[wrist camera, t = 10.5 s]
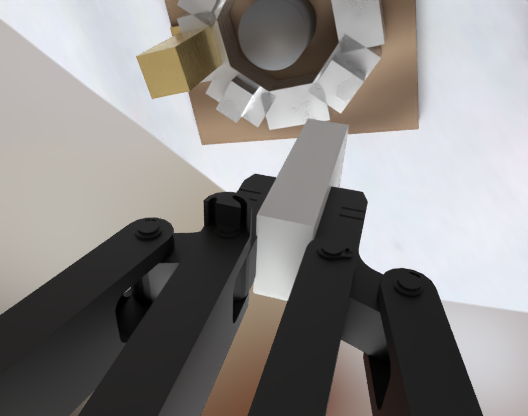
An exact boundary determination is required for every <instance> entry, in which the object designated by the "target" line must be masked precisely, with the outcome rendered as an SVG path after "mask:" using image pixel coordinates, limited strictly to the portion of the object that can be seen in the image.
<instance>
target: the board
mask: <svg viewBox="0 0 528 416" xmlns="http://www.w3.org/2000/svg"><path fill="white" fill-rule="evenodd" d="M178 1H179V0H165V3H166V7H167V11H168V15H169V18H170V22H171V26H172V27H170V29H171V32H172V36H175V35H176V34H180V33H181V30H180V27H179V24H178V21H177V18H179V17H181V16H183V15H186V14H188V12H187V11H185V10H184V9H182V8H181V7H179V6H178V5H177V4H178ZM381 1H382V8H383V15H384V22H385V29H386V40H385V44H383V45H379V46H380V47H382V48H383V51H382V56H381V59H380V60H379V62H378V63H377V64H376V66H375V67H374V69H373V70H372V71H371V73H370V74H369V76H368V77H367V78H366V80H365V81H364V82H363V84H362V85H361V87H360V88H359V89H358V91H357V92H356V93H355V95H354V96H353V98H352V99H351V100H350V102H349V103H348V104H347V106H346V107H345V109H344V110H343V111H342V113H339V112H338V111H336V110H335V109H334V111H333V114H332V117H331V119H330V120H327V121H328V122H334V123H341V124H347V125H349V127H348V134H358V133H372V132H385V131H399V130H413V129H419V123H418V83H417V43H416V4H415V0H381ZM229 16H230V19H231V23H232V26H233V30H234V34H235V37H236V41H237V44H238V48H239V52H240V55H241V57H242V58H243V59H245V60H246V61H248V62H249V63H251V64H252V65H254V66H255V67H257V68H258V69H260V70H261V71H263V72H264V73H266V74H267V75H269V76H270V77H272V78H274V79H275V80H277V81H278V80H283V79H288V78H293V77H298V76H303V75H308V74H313V73H318V72H319V71H320V69H321V68H322V66H323V65H324V63H325V62H326V60H327V59H328V57H329V56H330V54H331V52H332V51H333V49H334V48H335V46H336V45H337V43H338V42H339V40H338V35H337V29H336V24H335V18H334V13H333V7H332V2H331V0H235V1H234V3H233V5H232V7H231V9H230V11H229ZM211 82H212V80H211V81H207V82H202V83H199V84H198V85H197V86H195V87H194V88H193V89H192V90H191V91H188V92H189V96H190V100H191V104H192V108H193V112H194V116H195V120H196V124H197V127H198V131H199V135H200V139H201V143H202V145H207V144H221V143H235V142H248V141H262V140H276V139H289V138H298V136H299V135H300V133H301V131H302V129H303V127H304V125H305V124H303V125H297V126H291V127H285V128H279V129H273V130H269V126H268V123H267V119H266V116H265V118H264V119H263V121H262V122H261V124H260V125H259V127H256V126H255V125H253V124H252V123H250V122H249V121H247V120H246V119H244V118H243V117H241V118H240V120H239V121H238V122H237V123H236V122H234V121H233V120H231V119H230V118H228V117H227V116H225V115H224V114H222V113H220V112H219V111H217V110H216V108H217V106H218V104H219V102H218V101H216V100H215V99H213V98H212V97H210V96H209V95H207V94H206V91H207V89H208V87H209V86H210V84H211Z"/></svg>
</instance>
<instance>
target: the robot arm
mask: <svg viewBox="0 0 528 416" xmlns="http://www.w3.org/2000/svg"><path fill="white" fill-rule="evenodd" d="M348 127H349V125H347V124H341V123H334V122H328V121H321V120H315V119H307V121H306V123H305V125H304V127H303V129H302V131H301V133H300V135H299V136H298V138H297V140H296V142H295V144H294V146H293V148H292V150H291V152H290V153H289V155H288V157H287V159H286V161H285V163H284V165H283V167H282V168H281V170H280V172H279V174H278V176H277V178H276V177H271V176H265V175H260V174H254V175H252V176H251V177H249V178H247V179H245V180H244V182H243V183H242V185H241V186H240V188H239V190H238V191H237V193H235V192H221V193H215V194H213V195H210V196H208V197H207V198H206V199H205V200H204V227H203V229H202V230H201V231H200V232H195V233H174V229H173V227H172V225H171V224H170V223H169V222H167V221H166V220H164V219H159V218H143V219H139V220H136V221H135V222H132V223H130V224H129V225H127V226H126V227H124V228H123V229H122V230H120V231H119V232H117V233H116V234H115V235H113V236H112V237H110V238H109V239H108V240H106V241H105V242H103V243H102V244H100V245H99V246H98V247H96V248H95V249H93V250H92V251H91V252H89V253H88V254H86V255H85V256H83V257H82V258H81V259H79V260H78V261H76V262H75V263H74V264H72V265H71V266H69V267H68V268H67V269H65V270H64V271H62V272H61V273H59V274H58V275H57V276H55V277H54V278H52V279H51V280H49V281H48V282H47V283H45V284H44V285H42V286H41V287H39V288H38V289H37V290H35V291H34V292H33V293H31V294H30V295H28V296H27V297H25V298H24V299H23V300H21V301H20V302H18V303H17V304H15V305H14V306H13V307H11V308H10V309H8V310H7V311H5V312H4V313H3V314H1V315H0V416H69V415H70V414H71V413H72V412H73V411H74V410H75V409H76V408H77V407H78V406H79V405H80V404H81V403H82V402H83V401H84V400H85V399H86V398H87V397H88V396H89V395H90V394H91V393H92V392H93V391H94V390H95V391H94V392H93V394H92V395H91V397H90V398H89V400H88V401H87V403H86V404H85V406H84V408H83V409H82V410H81V412H80V413H79V415H78V416H201V414H202V411H203V409H204V407H205V404H206V402H207V400H208V397H209V395H210V393H211V390H212V388H213V386H214V383H215V381H216V379H217V376H218V374H219V371H220V369H221V367H222V365H223V362H224V360H225V358H226V356H227V353H228V351H229V349H230V346H231V344H232V341H233V339H234V337H235V334H236V332H237V330H238V327H239V325H240V323H241V321H242V318H243V316H244V314H245V311H246V309H247V307H248V301H249V290H250V288H251V286H252V283H253V281H254V292H253V293H256V294H260V295H264V296H268V297H273V298H277V299H281V300H286V301H287V304H286V307H285V310H284V313H283V316H282V318H281V321H280V324H279V327H278V330H277V333H276V336H275V339H274V342H273V344H272V347H271V350H270V353H269V356H268V359H267V362H266V365H265V367H264V370H263V373H262V376H261V379H260V382H259V385H258V387H257V390H256V393H255V397H254V399H253V402H252V405H251V408H250V410H249V413H248V416H326V411H327V406H328V401H329V396H330V391H331V386H332V381H333V376H334V371H335V366H336V361H337V356H338V351H339V346H340V341H341V340H343V341H345V342H346V343H348V344H350V345H352V346H354V347H356V348H358V349H359V350H361V351H363V352H364V354H363V359H364V365H365V371H366V378H367V384H368V390H369V397H370V403H371V409H372V414H373V416H483V414H482V411H481V409H480V406H479V403H478V400H477V398H476V395H475V392H474V389H473V387H472V384H471V381H470V379H469V376H468V373H467V370H466V368H465V365H464V362H463V360H462V357H461V354H460V352H459V349H458V346H457V343H456V341H455V338H454V335H453V333H452V330H451V327H450V324H449V322H448V319H447V317H446V314H445V311H444V308H443V305H442V303H441V300H440V297H439V295H438V292H437V289H436V287H435V286H434V284H433V282H432V281H431V280H430V279H429V278H427V277H426V276H425V275H424V274H421V273H419V272H417V271H415V270H411V269H405V268H397V269H391V270H389V271H387V272H385V273H384V275H383V274H381V273H379V272H377V271H375V270H373V269H371V268H370V267H369V266H367V265H366V264H365V263H364V262H363V261H362V259H361V258H360V255H359V244H360V239H361V234H362V229H363V224H364V218H365V213H366V208H367V203H368V201H367V199H366V197H365V195H364V193H363V192H360V191H355V190H349V189H344V188H339V186H340V180H341V173H342V167H343V160H344V154H345V147H346V140H347V134H348ZM130 287H131V288H130ZM129 288H130V289H129ZM128 289H129V290H128ZM127 290H128V291H127ZM126 291H127V292H126ZM124 292H125V293H124Z"/></svg>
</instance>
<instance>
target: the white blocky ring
mask: <svg viewBox="0 0 528 416" xmlns="http://www.w3.org/2000/svg"><path fill="white" fill-rule="evenodd" d="M234 1H235V0H179V1H178V4H177V5H178V6H179V7H181V8H182V9H184V10H185V11H187V12H188V14H186V15H183V16H181V17H179V18H177V21H178V24H179V27H180V30H181V33H180V34H176V35H175V36H173V37H171V38H169V39H167V40H165V41H163V42H162V43H160V44H158V45H156V46H154V47H152V48H151V49H149V50H147V51H145V52H143V53H141V54H139V55H138V56H136V57H137V60H138V63H139V65H140V68H141V71H142V73H143V76H144V79H145V81H146V84H147V87H148V89H149V92H150V95H151V97H152V99H154V98H159V97H163V96H168V95H173V94H178V93H183V92H188V91H191V90H192V89H193V88H194V87H195V86H197V85H198V84H199V83H202V82H207V81H211V80H212V82H211V84H210V86H209V87H208V89H207V91H206V94H207V95H209V96H210V97H212V98H213V99H215V100H216V101H218V102H219V104H218V106H217V108H216V110H217V111H219V112H220V113H222V114H224V115H225V116H227V117H228V118H230V119H231V120H233V121H234V122H236V123H237V122H238V121H239V120H240V118H241V117H243V118H244V119H246V120H247V121H249V122H250V123H252V124H253V125H255V126H256V127H259V125H260V124H261V122H262V121H263V119H264V118H265V116H266V119H267V123H268V126H269V130H273V129H279V128H285V127H291V126H297V125H303V124H305V123H306V121H307V119H315V120H321V121H327V120H330V119H331V117H332V114H333V111H334V109H335V110H336V111H338V112H339V113H342V111H343V110H344V109H345V107H346V106H347V104H348V103H349V102H350V100H351V99H352V98H353V96H354V95H355V93H356V92H357V91H358V89H359V88H360V87H361V85H362V84H363V82H364V81H365V80H366V78H367V77H368V76H369V74H370V73H371V71H372V70H373V69H374V67H375V66H376V64H377V63H378V62H379V60H380V59H381V56H382V51H383V48H382V47H380V46H379V45H383V44H385V40H386V29H385V22H384V15H383V8H382V1H381V0H331V2H332V7H333V13H334V18H335V24H336V29H337V35H338V40H339V42H338V43H337V45H336V46H335V48H334V49H333V51H332V52H331V54H330V56H329V57H328V59H327V60H326V62H325V63H324V65H323V66H322V68H321V69H320V71H319V72H318V73H313V74H308V75H303V76H298V77H293V78H288V79H283V80H278V81H277V80H275V79H274V78H272V77H270V76H269V75H267V74H266V73H264V72H263V71H261V70H260V69H258V68H257V67H255V66H254V65H252V64H251V63H249V62H248V61H246V60H245V59H243V58H242V57H241V55H240V52H239V48H238V44H237V41H236V37H235V34H234V30H233V26H232V23H231V19H230V16H229V11H230V9H231V7H232V5H233V3H234Z"/></svg>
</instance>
